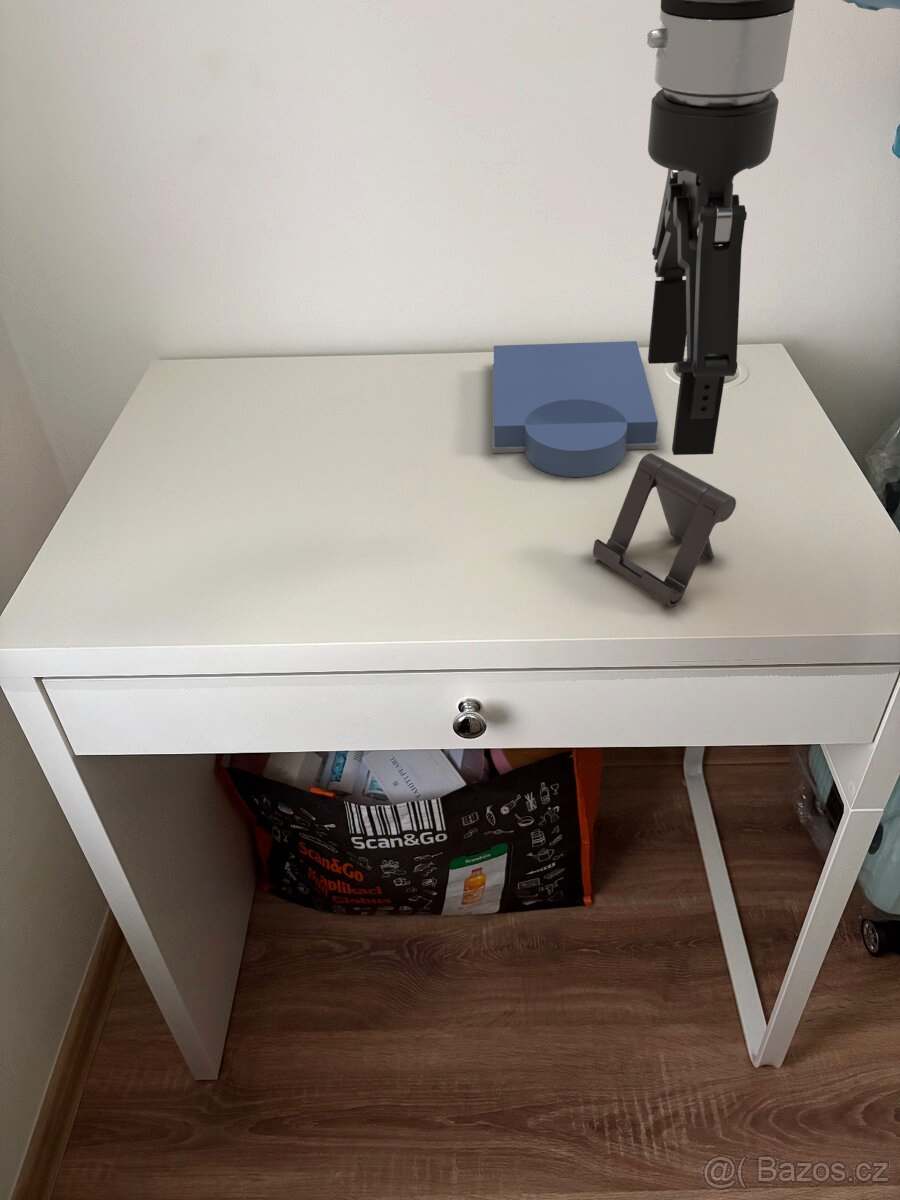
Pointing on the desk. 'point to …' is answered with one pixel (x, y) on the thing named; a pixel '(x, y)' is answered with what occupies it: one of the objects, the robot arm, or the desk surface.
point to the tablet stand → (688, 519)
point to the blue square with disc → (572, 405)
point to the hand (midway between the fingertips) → (677, 403)
